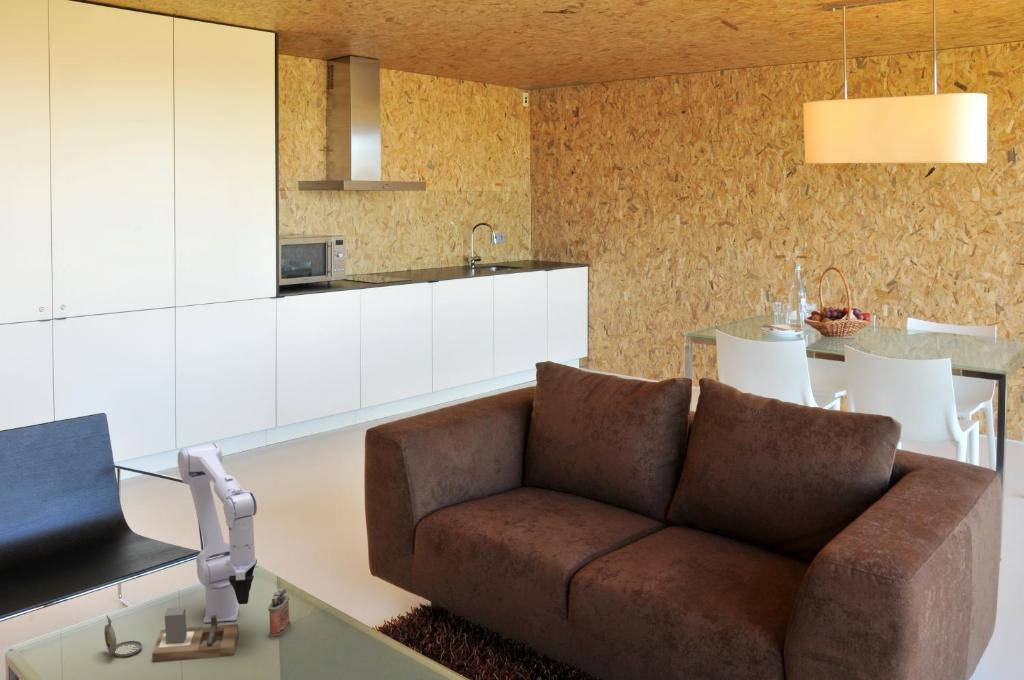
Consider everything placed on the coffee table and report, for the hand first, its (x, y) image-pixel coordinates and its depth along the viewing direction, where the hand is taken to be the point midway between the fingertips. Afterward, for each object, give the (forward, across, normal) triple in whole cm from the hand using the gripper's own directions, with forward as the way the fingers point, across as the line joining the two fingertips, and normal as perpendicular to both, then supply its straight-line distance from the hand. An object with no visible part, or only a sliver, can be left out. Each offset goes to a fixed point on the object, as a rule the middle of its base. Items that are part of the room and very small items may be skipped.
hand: (244, 596), depth 231 cm
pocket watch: (+10, +3, -28) cm, 30 cm away
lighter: (+11, -2, +8) cm, 13 cm away
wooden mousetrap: (+10, +3, -11) cm, 16 cm away
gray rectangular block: (+8, +3, -16) cm, 18 cm away
